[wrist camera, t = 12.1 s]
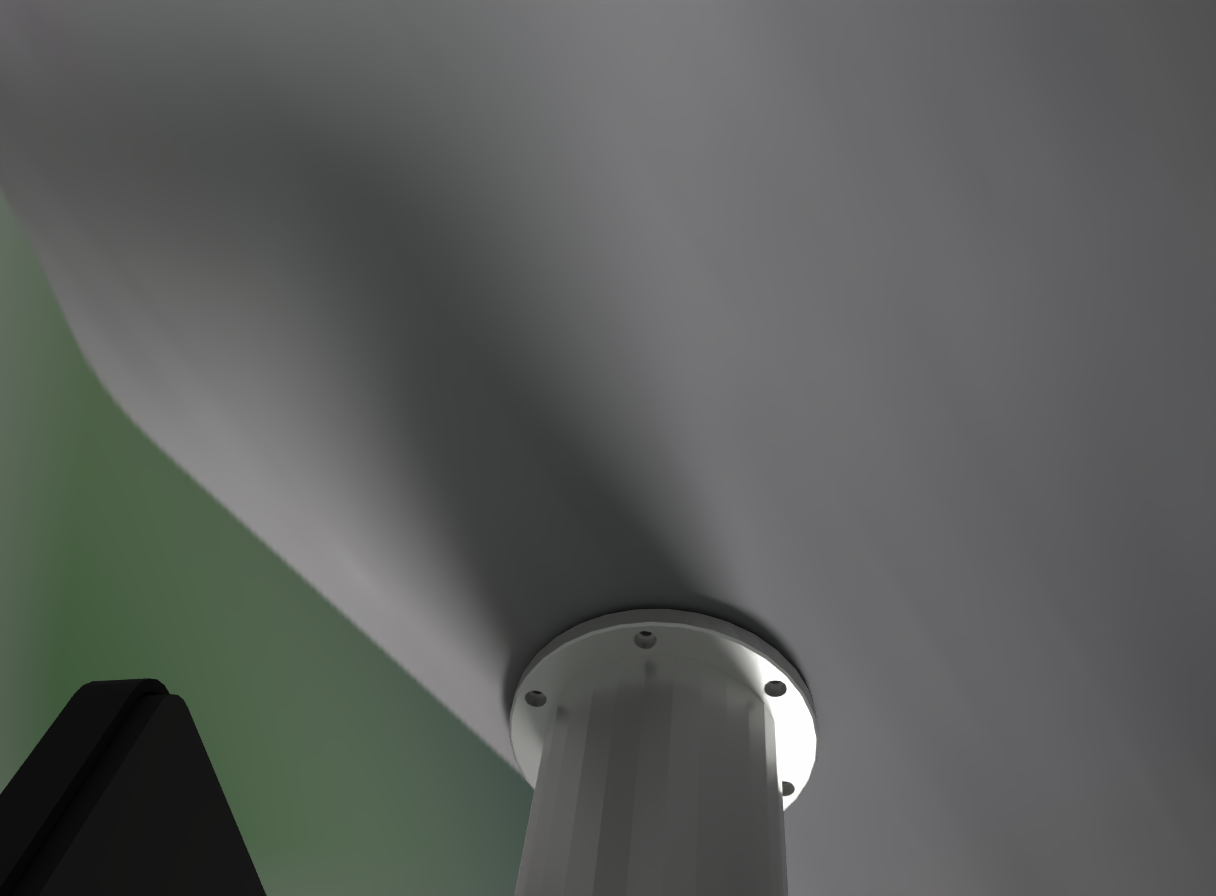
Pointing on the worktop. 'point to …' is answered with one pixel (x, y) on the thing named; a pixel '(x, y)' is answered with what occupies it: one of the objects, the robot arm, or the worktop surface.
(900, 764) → the worktop surface
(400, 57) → the worktop surface
